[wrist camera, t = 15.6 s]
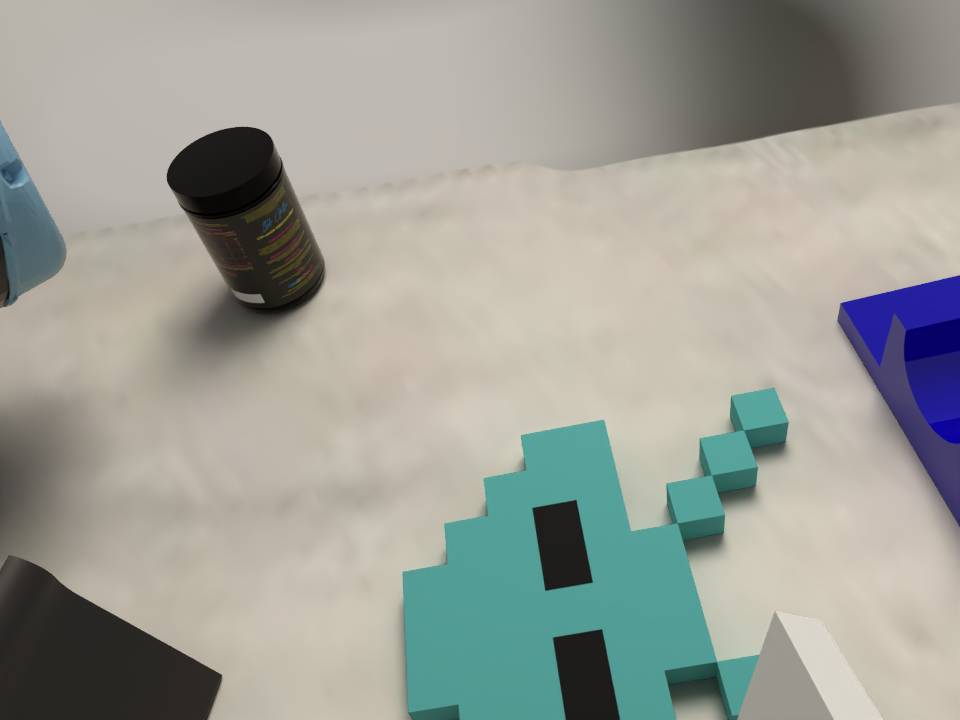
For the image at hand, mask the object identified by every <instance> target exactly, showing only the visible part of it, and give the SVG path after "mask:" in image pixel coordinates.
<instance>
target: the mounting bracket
mask: <svg viewBox="0 0 960 720" xmlns="http://www.w3.org/2000/svg"><path fill="white" fill-rule="evenodd" d="M838 322H839V323H840V325H841V327H842V328H843V330H844V332H845V333H846V335H847V337H848V339H849V340H850V342H851V344H852V345H853V347H854V349H855V350H856V352H857V354H858V355H859V357H860V359H861V361H862V362H863V364H864V366H865V367H866V369H867V371H868V372H869V374H870V376H871V377H872V379H873V381H874V382H875V384H876V386H877V388H878V389H879V391H880V393H881V394H882V396H883V398H884V399H885V401H886V403H887V404H888V406H889V408H890V410H891V411H892V413H893V415H894V416H895V418H896V420H897V421H898V423H899V425H900V426H901V428H902V430H903V431H904V433H905V435H906V437H907V438H908V440H909V442H910V443H911V445H912V447H913V448H914V450H915V452H916V453H917V455H918V457H919V459H920V460H921V462H922V464H923V465H924V467H925V469H926V470H927V472H928V474H929V475H930V477H931V479H932V480H933V482H934V484H935V486H936V487H937V489H938V491H939V492H940V494H941V496H942V497H943V499H944V501H945V502H946V504H947V506H948V508H949V509H950V511H951V513H952V514H953V516H954V518H955V519H956V521H957V523H958V524H959V526H960V275H959V276H955V277H951V278H946V279H942V280H938V281H933V282H929V283H925V284H921V285H916V286H912V287H908V288H903V289H899V290H895V291H891V292H886V293H882V294H878V295H873V296H869V297H865V298H861V299H856V300H852V301H848V302H843V303H841V304H840V310H839V315H838Z"/></svg>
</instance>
